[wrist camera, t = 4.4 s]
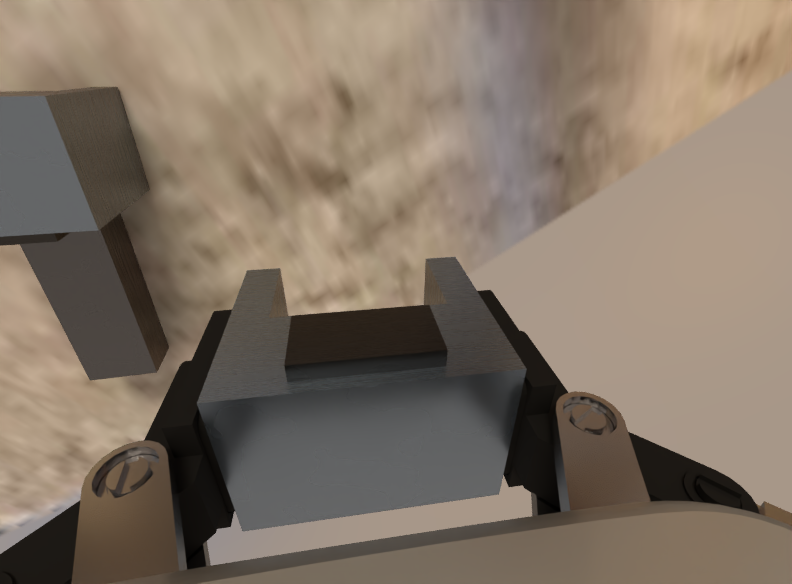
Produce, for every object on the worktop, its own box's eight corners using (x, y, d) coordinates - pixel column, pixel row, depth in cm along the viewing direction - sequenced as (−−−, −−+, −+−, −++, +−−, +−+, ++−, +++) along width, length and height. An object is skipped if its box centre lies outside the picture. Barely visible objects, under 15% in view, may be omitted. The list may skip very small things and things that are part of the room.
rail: (117, 86, 15) (44, 95, 11) (198, 344, 22) (172, 413, 17) (-65, 89, 14) (-220, 99, 10) (76, 358, 21) (16, 434, 16)
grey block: (456, 244, 12) (530, 352, 7) (446, 360, 14) (498, 494, 10) (244, 257, 11) (190, 385, 7) (270, 377, 13) (242, 531, 9)
